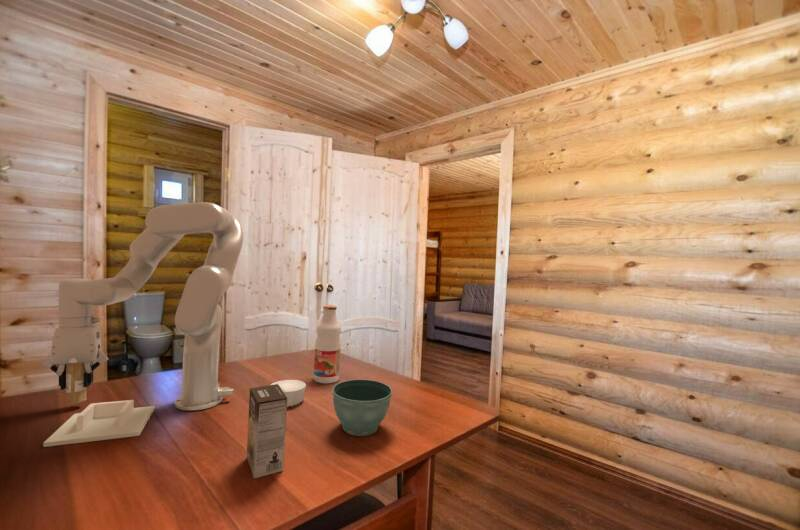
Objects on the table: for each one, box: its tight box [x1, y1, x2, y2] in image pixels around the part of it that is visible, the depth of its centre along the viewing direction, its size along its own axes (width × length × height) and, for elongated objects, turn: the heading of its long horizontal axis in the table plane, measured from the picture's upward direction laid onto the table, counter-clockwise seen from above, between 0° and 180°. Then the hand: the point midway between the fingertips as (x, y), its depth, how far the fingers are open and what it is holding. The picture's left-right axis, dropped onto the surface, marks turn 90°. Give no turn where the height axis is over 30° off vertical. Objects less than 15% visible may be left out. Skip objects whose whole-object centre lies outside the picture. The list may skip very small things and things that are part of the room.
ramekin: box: [270, 379, 307, 408], centre depth 113 cm, size 11×11×5 cm
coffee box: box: [246, 384, 288, 479], centre depth 79 cm, size 9×6×16 cm
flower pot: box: [332, 379, 393, 437], centre depth 98 cm, size 16×16×11 cm
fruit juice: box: [313, 304, 342, 384], centre depth 135 cm, size 9×9×28 cm
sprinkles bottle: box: [65, 358, 88, 405], centre depth 101 cm, size 5×5×14 cm
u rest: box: [42, 399, 156, 448], centre depth 92 cm, size 18×16×4 cm
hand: (76, 386), depth 101 cm, fingers closed on sprinkles bottle, 4 cm apart
